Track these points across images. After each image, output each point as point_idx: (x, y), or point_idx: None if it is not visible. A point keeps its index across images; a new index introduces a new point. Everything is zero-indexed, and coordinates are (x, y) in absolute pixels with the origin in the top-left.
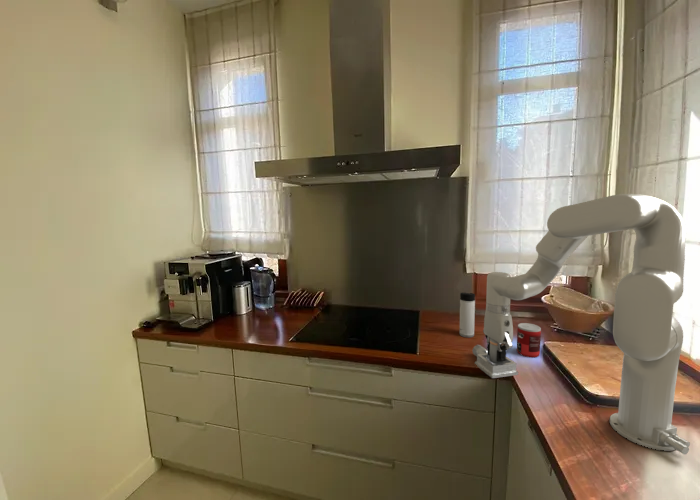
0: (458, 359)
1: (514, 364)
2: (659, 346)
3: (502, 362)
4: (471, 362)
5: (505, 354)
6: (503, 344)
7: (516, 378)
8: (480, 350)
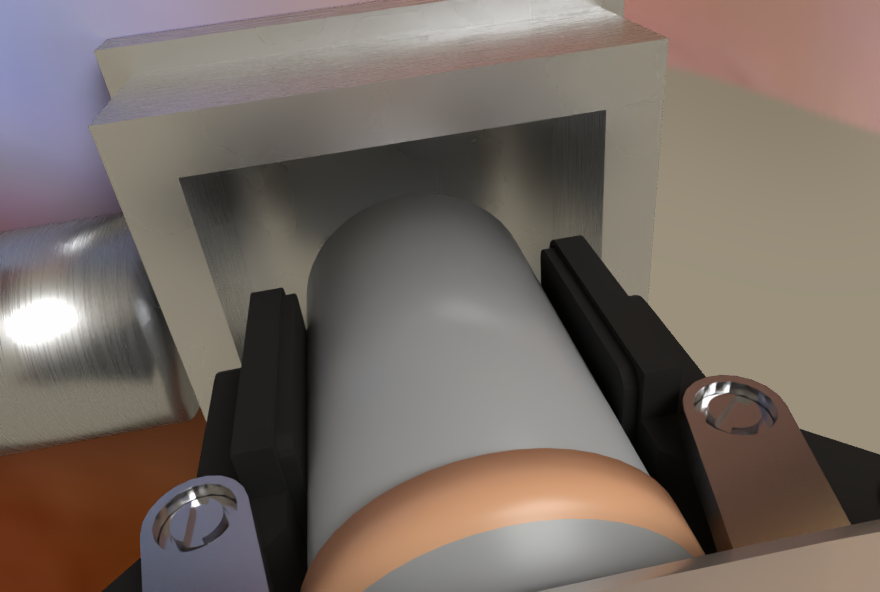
0: (111, 543)
1: (655, 77)
2: None
3: (513, 238)
4: (187, 439)
5: (629, 308)
6: (717, 533)
7: (680, 63)
8: (64, 443)
